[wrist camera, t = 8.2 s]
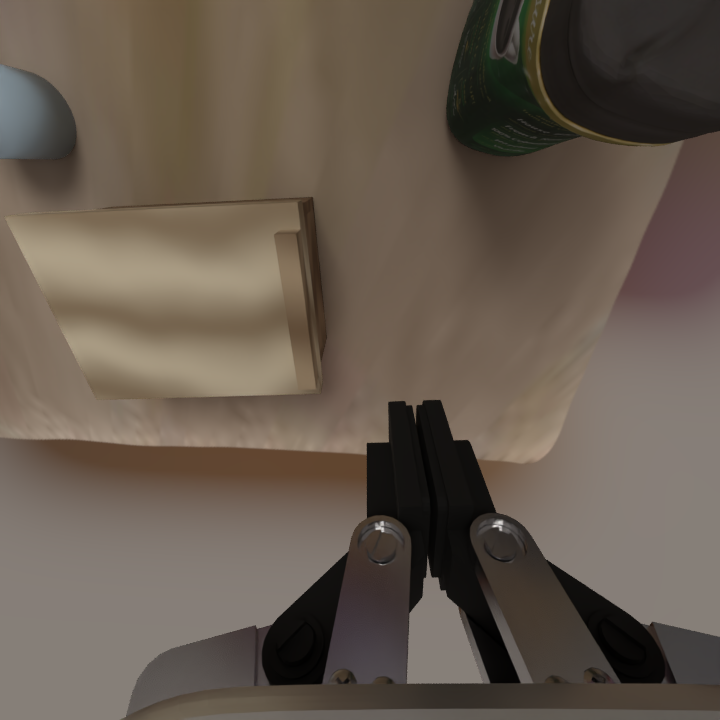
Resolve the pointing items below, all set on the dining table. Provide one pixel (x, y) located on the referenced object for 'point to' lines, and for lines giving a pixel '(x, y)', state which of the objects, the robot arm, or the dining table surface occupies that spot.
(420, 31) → the dining table surface
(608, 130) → the coffee jar
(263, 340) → the lid
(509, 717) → the robot arm
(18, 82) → the blue cylinder with recess
